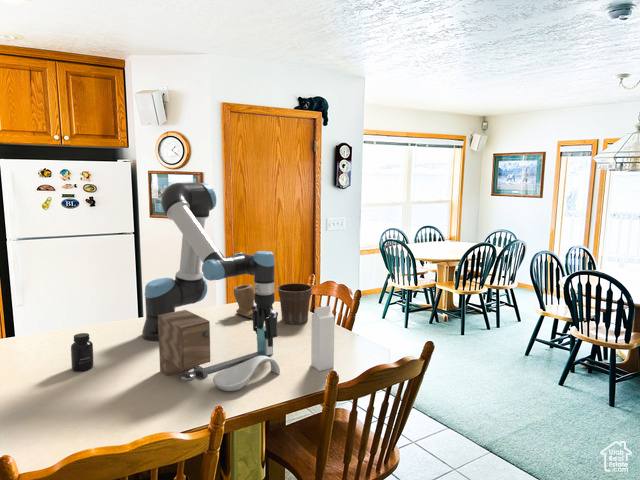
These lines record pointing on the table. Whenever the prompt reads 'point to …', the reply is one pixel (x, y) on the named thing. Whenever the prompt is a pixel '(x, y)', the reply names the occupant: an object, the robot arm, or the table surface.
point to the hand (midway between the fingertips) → (264, 352)
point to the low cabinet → (183, 341)
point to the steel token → (188, 376)
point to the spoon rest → (241, 373)
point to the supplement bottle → (82, 353)
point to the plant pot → (294, 302)
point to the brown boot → (244, 299)
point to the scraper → (260, 352)
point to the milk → (322, 339)
